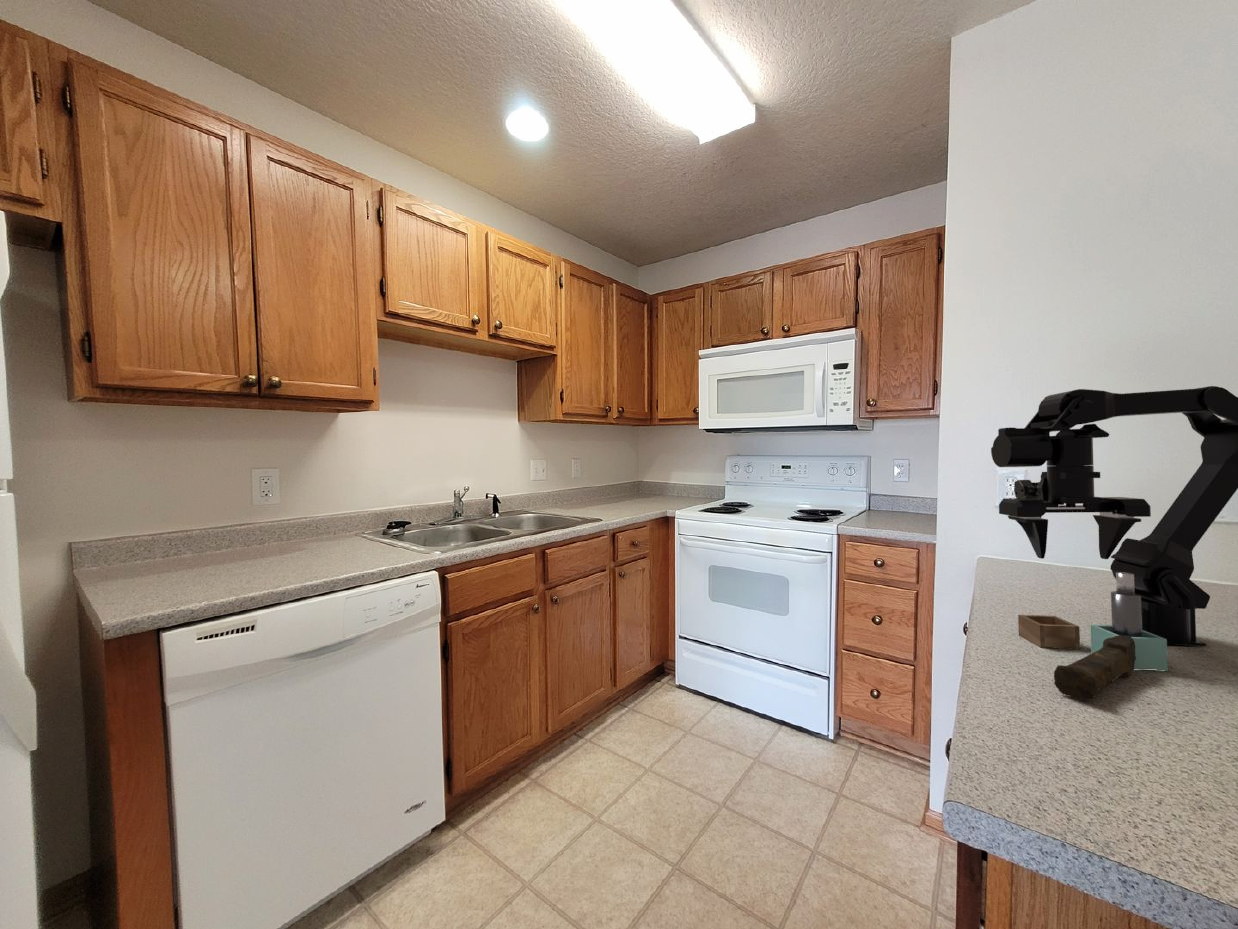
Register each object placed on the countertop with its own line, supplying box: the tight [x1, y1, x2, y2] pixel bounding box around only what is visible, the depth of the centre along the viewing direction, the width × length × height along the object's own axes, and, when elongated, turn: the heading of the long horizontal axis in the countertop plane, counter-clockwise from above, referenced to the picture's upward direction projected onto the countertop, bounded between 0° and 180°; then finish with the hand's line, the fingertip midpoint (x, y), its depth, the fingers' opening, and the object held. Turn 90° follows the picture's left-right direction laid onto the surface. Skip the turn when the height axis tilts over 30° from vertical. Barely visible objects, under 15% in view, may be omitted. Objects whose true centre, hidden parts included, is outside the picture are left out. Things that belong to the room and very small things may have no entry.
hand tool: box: [1053, 635, 1136, 701], centre depth 63 cm, size 19×4×5 cm, turn 115°
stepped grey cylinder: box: [1110, 572, 1142, 637], centre depth 69 cm, size 3×3×13 cm
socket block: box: [1017, 614, 1081, 650], centre depth 77 cm, size 5×5×4 cm
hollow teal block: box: [1090, 624, 1169, 671], centre depth 69 cm, size 5×5×4 cm
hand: (1072, 558), depth 80 cm, fingers open, 9 cm apart
